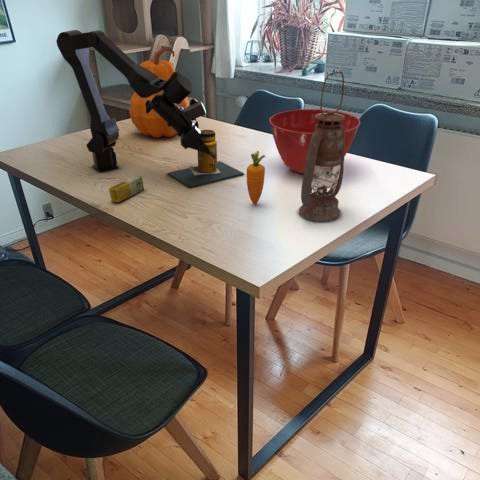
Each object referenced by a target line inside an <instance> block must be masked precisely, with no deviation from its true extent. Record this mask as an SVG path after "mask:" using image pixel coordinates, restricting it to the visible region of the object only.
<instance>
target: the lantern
mask: <svg viewBox="0 0 480 480" xmlns="http://www.w3.org/2000/svg"><path fill="white" fill-rule="evenodd" d="M336 74H340V75H341V79H342V88H341V97H340V103H339V106H338V108H337V110H332V111H327V113H322V110H323V96H324V90H325V86H326V84H327V83H326V82H327V79H328V77H329V76H333V75H336ZM323 81H324V82H323V84H322V90H321V96H320V106H319V107H320V110H321V113H320V114H316V115H315V118H316V119H317V120H318V122H317V125H316V126H315V132H314V134H313V135H312V137H311V140H310V143H309V148H308V153H307V158H306V164H305V169H304V174H302V175H303V176H302V181H301V190H300V200H301V203H302V205H300V206H299V209H298V213H299V214H298V215H299V216H300V217H301V218H303V219H305V220H307V221H311V222H314V223H329V222H334V221H336V220H337V219H339V218H340V215H341V210H340V208H339V199H338V198H337V195H338V194H339V192H340V190H341V187H342V184H343V179H344V169H345V168H344V166H345V157H344V150H345V131H344V128H343V126H342V125H341V121H343V120H345V116H343V115H341V114H336V113H335V112H337V111H339V110H340V109H341V106H342V104H343V100H344V99H343V98H344V90H345V77H344V73H343V72H342V71H334V72H330V73H328V74H327V75H326V77H325V79H324V80H323ZM334 166H335V167H334ZM320 167H322V168H320ZM329 167H333V169H332V170H331V168H329ZM326 172H327V173H328V174H327V173H326ZM315 173H316V175H315ZM322 173H323V174H322ZM313 174H314V175H313Z"/></svg>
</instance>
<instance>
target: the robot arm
mask: <svg viewBox="0 0 480 480" xmlns="http://www.w3.org/2000/svg"><path fill="white" fill-rule="evenodd" d="M56 47H57V48H58V50H59V52H60V55H61V56H62V58H63V59H64V60H65V62H66V63H67V64H68V65H69V66H70V67H71V69H72V71H73V74H74V76H75V79H76V82H77V85H78V88H79V89H80V93H81V95H82V98H83V101H84V103H85V107H86V109H87V111H88V114H89V116H90V124H89V125H90V126H89V129H90V134H91V138H90V140H89V141H88V142H87V144H86V145H85V146H86V148H87V150H88V152H89V153H91V155H92V160H93V164H92V168H94V169H96V170H97V172H99V173H101V172H107V171H111V170H116V169H119V166H118V160H117V153H116V151H115V150H114V147H115V146H116V144H117V141H118V140H119V137H120V132H119V131H120V128H119V126H118V123H117V119H116V117H112V118H111V116H109V115H108V114H107V112H106V108H105V106H104V103H103V101H102V98H101V95H100V92H99V89H98V86H97V84H96V81H95V77H94V75H93V73H92V70H91V67H90V64H89V60H90V59H89V57H90V50H89V49H90V48H92V49H94V50H95V51H96V52H97V53H99V54H100V55H101V56H102V57H103V58H104V59H105V60H106V61H107V62H108V63H110V64H111V65H112V66H113V67H114V68H115V69H116V70H117V71H119V72H120V73H121V74H122V75H123V76H124V77H125V79H126V80H127V82H128V84H129V87H130V88H131V90H133V91H134V92H136V94H137V95H138V96H140V97H141V98H147V97H150V96H152V95H154V94H156V93H158V92H161V91H164V92H163V93H162V94H161V95H159V94H157V95H156V96H155V97H154V98H153V99H152V100H147V101H146V103H145V106H146V113H149V112H150V111H151V110H152V109H153V110H154V111H155V112H156V113H157V114H158V115H159V116H160V117H161V118H162V119H163V120H164V121H165V122H166V123H167V125H168V126H169V127H170V126H171V127H172V128H173V129H174V130H175V131H176V132H177V134H176V135H177V136H178V137H179V138H180V146H181V147H183V148H184V149H185V150H187V149H192V150H195V151H197V152H198V151H201V152H203V153H206V154H209V153H210V150H209V148H208V147H207V146H206V144H205V143H204V142H203V140H202V139H201V132H200V131H201V129H199V121H198V120H197V119H198V118H200V117H203V116H205V115H206V114H207V111H206V108H205V106H204V104H203V102H202V100H200V99H199V100H197V99H195V98H194V97H193V98H191V99H189V106H188V107H187V108H185V109H183V108H182V107H180V106H179V107H178V106H177V105H176V104H180V103H181V102H182V101H183V100H184V99H185V98H186V97H187V98H188V97H189V95H191V94H192V92H194V86H193V83H192V81H191V80H190V79H189V78H188V77H186V76H185V75H184V74H181V73H180V71H179V70H175V72H174V73H173V74H172V75H171V77H170V78H169V79H168V80H167V81H166V80H163V79H160V78H158V76H157V75H156V74H154V73H153V72H151V71H150V70H148V69H146V68H144V67H141V66H140V64H138V63H136V62H135V61H134V60H133V59H131V57H130V56H128V55H127V54H126V53H125V52H124V51H123V50H122V49H121V48H120V47H119V46H117V45H116V44H115V43H114V42H113V41H112V39H110V38H109V37H108V36H107V35H106V34H105V32H104V31H102V30H100V29H97V30H93V31H87V32H82V31H81V30H78V29H71V30H67V31H66V30H65V31H62V32H60V33H58V35H57V38H56ZM175 103H176V104H175Z"/></svg>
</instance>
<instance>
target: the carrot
mask: <svg viewBox="0 0 480 480" xmlns="http://www.w3.org/2000/svg"><path fill="white" fill-rule="evenodd" d="M259 154H260V150H256V152H254V153H253V152H252V153H251V154H250V157H251V160H252V163H250V164H248V166H247V167H246V186H247V192H248V193H247V194H248V196H249V199H250V201H251V202H252V204H253V206H256V205H257V204H258V202H259V201H260V200H261V199H260V198H261V196H262V194H263V189H264V184H265V174H266V173H265V172H266V167H265V166H264V165H263V164H261V163H260V162H261V161H262V159H264V158H265V157H266V155H265V154H262V155H260V156H259Z"/></svg>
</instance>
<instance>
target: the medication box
mask: <svg viewBox="0 0 480 480" xmlns="http://www.w3.org/2000/svg"><path fill="white" fill-rule="evenodd" d="M144 190H145V187H144V182H143V177H142V176H141V175H134V176H132V177H130V178H128V179H126V180H124V181H122V182H120V183H117V184H115V185H113V186H110V187H109V188H108V191H109V195H110V199H111V201H110V202H112V203H120V202H122V201H124V200H126V199H128V198H130V197H132V196H134V195H136V194H138V193H140V192H142V191H144Z"/></svg>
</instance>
